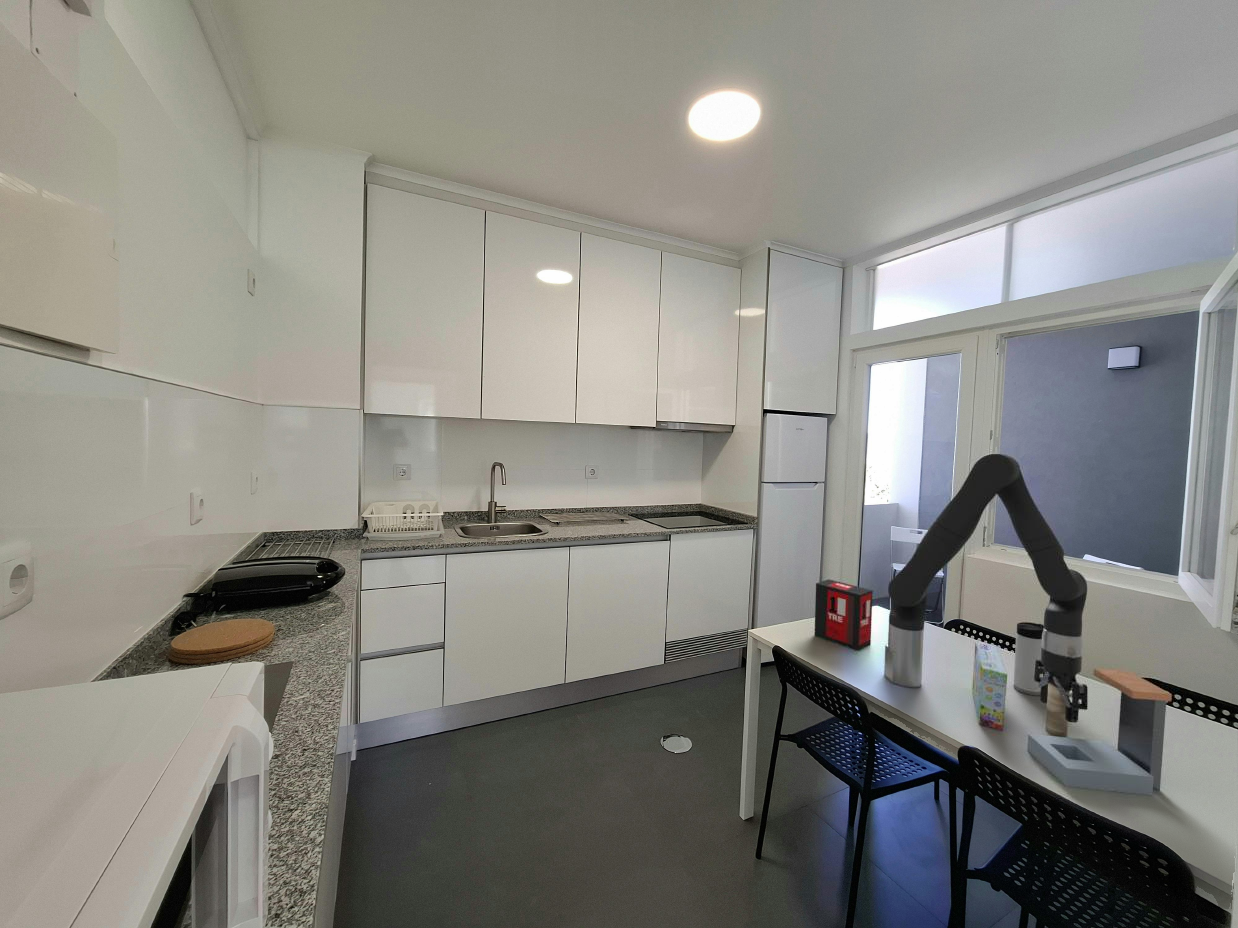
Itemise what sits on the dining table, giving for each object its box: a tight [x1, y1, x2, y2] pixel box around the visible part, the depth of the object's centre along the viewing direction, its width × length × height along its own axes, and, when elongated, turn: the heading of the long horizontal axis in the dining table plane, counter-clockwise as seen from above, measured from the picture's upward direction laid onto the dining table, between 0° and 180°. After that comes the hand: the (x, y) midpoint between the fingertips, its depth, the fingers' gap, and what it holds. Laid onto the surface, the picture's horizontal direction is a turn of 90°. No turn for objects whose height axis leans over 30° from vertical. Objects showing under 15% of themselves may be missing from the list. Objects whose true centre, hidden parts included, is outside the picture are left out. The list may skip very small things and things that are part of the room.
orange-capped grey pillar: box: [1092, 668, 1173, 791], centre depth 106 cm, size 7×10×22 cm
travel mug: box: [1012, 621, 1044, 696], centre depth 142 cm, size 6×7×20 cm
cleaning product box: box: [814, 579, 873, 652], centre depth 176 cm, size 16×9×20 cm, turn 37°
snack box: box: [971, 641, 1008, 731], centre depth 132 cm, size 21×6×15 cm, turn 148°
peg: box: [1045, 683, 1071, 738], centre depth 121 cm, size 4×4×12 cm
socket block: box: [1026, 733, 1154, 796], centre depth 107 cm, size 16×12×4 cm
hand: (1058, 711), depth 121 cm, fingers open, 8 cm apart
